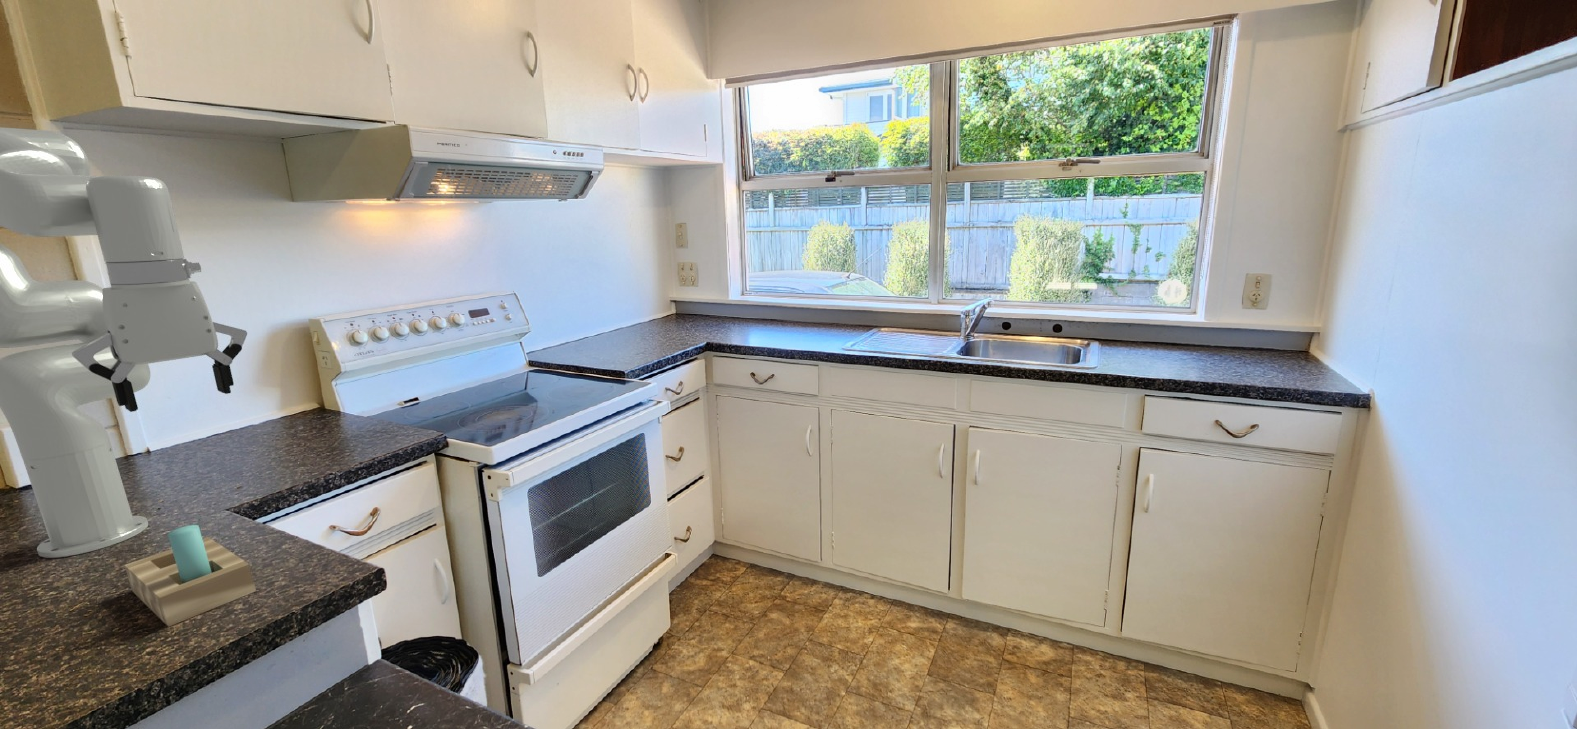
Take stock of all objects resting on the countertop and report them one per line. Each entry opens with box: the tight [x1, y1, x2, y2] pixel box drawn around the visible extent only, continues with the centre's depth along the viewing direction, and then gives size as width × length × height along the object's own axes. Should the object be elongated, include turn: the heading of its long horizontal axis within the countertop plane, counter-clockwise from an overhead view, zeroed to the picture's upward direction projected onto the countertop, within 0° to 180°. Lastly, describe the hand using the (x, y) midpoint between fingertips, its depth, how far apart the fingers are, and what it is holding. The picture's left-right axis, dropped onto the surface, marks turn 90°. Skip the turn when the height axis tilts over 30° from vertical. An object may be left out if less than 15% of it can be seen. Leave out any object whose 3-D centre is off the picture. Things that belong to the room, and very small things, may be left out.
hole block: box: [123, 536, 257, 627], centre depth 89 cm, size 16×9×4 cm, turn 56°
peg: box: [167, 524, 212, 584], centre depth 86 cm, size 3×3×10 cm
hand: (180, 400), depth 90 cm, fingers open, 9 cm apart
